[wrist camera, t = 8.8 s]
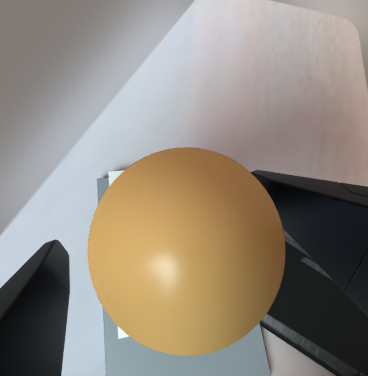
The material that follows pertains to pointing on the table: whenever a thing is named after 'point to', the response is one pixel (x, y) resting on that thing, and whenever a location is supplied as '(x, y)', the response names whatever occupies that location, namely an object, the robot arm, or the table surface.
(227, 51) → the table surface
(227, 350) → the writing board
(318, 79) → the table surface
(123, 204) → the grey cylinder
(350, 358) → the phone
